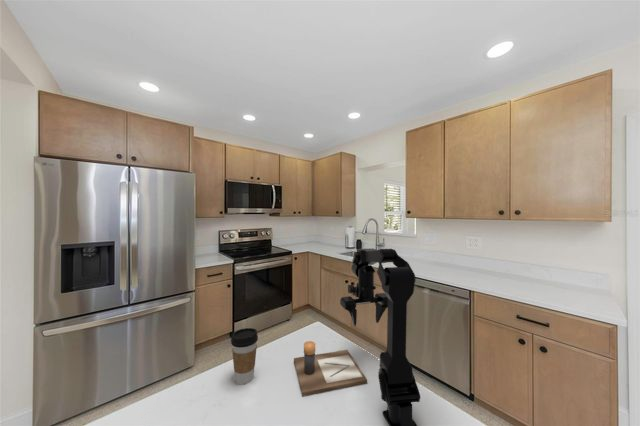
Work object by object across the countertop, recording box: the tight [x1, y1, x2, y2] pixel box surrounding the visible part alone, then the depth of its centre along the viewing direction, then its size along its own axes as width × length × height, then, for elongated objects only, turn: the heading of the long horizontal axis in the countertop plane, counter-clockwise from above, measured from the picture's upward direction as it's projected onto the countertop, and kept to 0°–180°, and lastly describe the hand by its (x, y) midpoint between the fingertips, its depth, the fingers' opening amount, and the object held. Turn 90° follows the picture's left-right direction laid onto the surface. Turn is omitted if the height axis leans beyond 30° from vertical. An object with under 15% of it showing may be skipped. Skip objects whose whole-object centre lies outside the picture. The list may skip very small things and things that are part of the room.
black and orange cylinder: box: [303, 340, 316, 375], centre depth 78 cm, size 4×4×9 cm
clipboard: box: [293, 349, 368, 397], centre depth 79 cm, size 17×21×2 cm
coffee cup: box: [230, 327, 259, 385], centre depth 76 cm, size 8×8×15 cm
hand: (366, 323), depth 86 cm, fingers open, 9 cm apart
